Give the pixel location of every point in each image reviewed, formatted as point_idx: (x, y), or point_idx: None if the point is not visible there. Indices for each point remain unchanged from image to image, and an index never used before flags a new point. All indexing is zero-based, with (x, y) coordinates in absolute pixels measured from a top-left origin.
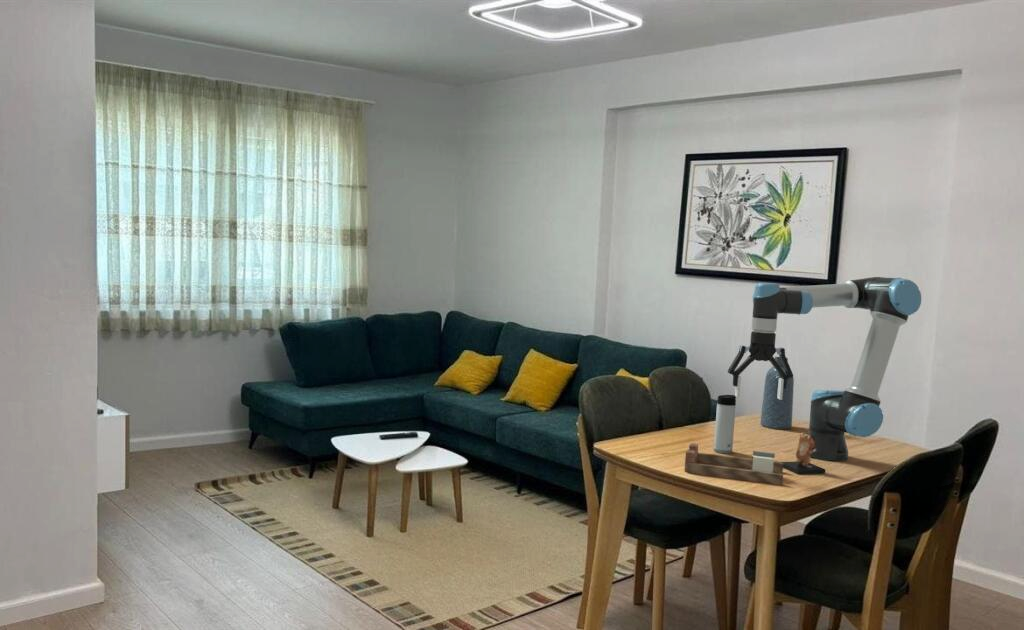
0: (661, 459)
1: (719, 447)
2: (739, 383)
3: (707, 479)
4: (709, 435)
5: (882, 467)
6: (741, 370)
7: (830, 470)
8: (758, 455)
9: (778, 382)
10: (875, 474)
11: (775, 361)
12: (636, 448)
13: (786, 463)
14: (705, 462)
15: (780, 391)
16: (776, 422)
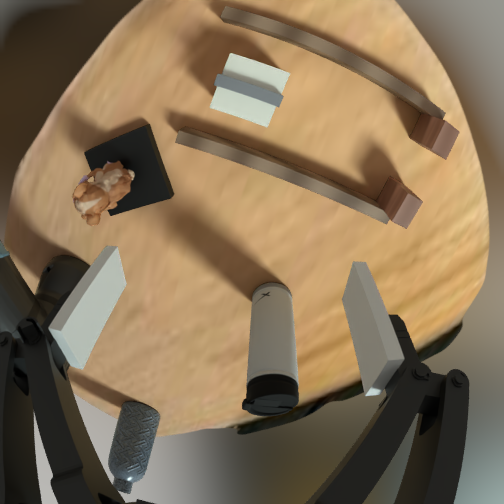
0: (437, 219)
1: (286, 293)
2: (381, 322)
3: (407, 54)
4: None
5: (8, 226)
6: (397, 408)
7: (75, 181)
8: (266, 89)
9: (92, 346)
10: (16, 174)
11: (57, 472)
12: (436, 291)
13: (157, 185)
14: (360, 194)
15: (97, 274)
16: (139, 410)
